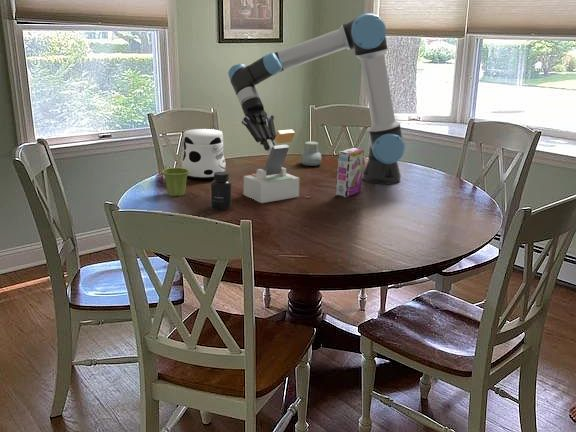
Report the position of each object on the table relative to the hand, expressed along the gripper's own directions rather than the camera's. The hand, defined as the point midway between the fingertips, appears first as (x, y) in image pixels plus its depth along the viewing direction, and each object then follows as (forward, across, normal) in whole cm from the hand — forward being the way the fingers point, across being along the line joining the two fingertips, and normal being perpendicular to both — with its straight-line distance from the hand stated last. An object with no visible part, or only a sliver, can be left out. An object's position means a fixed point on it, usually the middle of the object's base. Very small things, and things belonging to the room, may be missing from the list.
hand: (274, 156), depth 209 cm
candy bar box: (+18, -27, -3) cm, 32 cm away
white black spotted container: (-16, +8, -38) cm, 42 cm away
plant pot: (-3, +28, -25) cm, 38 cm away
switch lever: (+3, 0, -6) cm, 6 cm away
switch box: (+10, 0, -11) cm, 15 cm away
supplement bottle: (+12, +22, -9) cm, 27 cm away
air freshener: (-13, -42, -35) cm, 57 cm away
